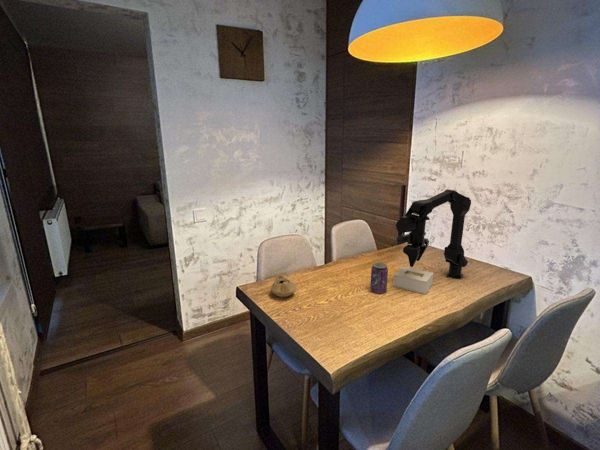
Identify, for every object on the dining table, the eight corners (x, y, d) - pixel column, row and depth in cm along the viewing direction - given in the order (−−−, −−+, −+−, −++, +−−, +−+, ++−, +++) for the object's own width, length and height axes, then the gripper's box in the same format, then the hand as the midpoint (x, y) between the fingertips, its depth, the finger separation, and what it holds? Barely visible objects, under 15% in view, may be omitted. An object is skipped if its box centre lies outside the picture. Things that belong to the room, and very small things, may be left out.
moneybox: (402, 277, 156) (403, 266, 155) (432, 285, 148) (433, 272, 147) (393, 286, 147) (394, 274, 145) (425, 294, 139) (426, 281, 137)
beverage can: (367, 288, 145) (368, 263, 142) (380, 286, 147) (382, 261, 144) (375, 295, 138) (377, 269, 136) (389, 292, 141) (391, 267, 138)
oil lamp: (286, 284, 149) (286, 268, 147) (301, 297, 136) (301, 280, 134) (264, 289, 144) (263, 272, 143) (277, 303, 132) (277, 285, 130)
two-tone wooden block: (407, 282, 150) (408, 272, 149) (420, 285, 147) (421, 275, 145) (405, 283, 148) (406, 273, 147) (419, 287, 145) (420, 276, 144)
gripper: (406, 223, 153) (403, 254, 157) (392, 231, 138) (389, 265, 142) (430, 227, 147) (427, 259, 150) (418, 236, 132) (415, 271, 136)
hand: (414, 263), depth 145 cm, fingers open, 9 cm apart
